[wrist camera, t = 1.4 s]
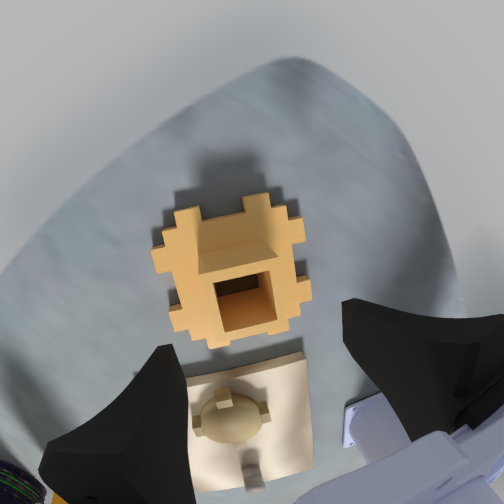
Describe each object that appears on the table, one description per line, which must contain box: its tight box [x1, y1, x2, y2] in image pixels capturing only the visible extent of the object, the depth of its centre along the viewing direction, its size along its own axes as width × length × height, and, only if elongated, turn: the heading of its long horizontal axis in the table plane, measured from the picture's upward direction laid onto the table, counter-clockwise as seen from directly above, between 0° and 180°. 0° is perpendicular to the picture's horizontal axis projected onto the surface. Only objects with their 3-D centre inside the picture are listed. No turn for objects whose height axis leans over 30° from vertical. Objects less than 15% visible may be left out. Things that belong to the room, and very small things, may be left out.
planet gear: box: [151, 192, 312, 349], centre depth 18 cm, size 10×10×5 cm
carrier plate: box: [185, 351, 314, 494], centre depth 23 cm, size 14×18×4 cm
